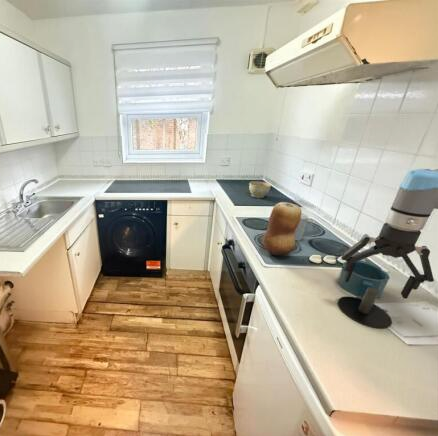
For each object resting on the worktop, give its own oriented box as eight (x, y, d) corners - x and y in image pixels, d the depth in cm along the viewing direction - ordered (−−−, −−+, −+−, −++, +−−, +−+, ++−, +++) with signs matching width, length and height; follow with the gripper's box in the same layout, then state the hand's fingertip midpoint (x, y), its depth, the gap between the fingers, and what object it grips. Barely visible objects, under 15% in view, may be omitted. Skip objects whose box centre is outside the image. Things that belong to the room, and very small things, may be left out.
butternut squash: (294, 262, 106) (309, 210, 96) (262, 258, 110) (273, 207, 100) (286, 247, 119) (299, 200, 109) (258, 244, 122) (267, 198, 112)
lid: (386, 309, 80) (397, 286, 76) (395, 337, 70) (409, 312, 66) (336, 294, 87) (344, 272, 84) (337, 317, 77) (347, 293, 73)
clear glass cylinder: (292, 241, 125) (298, 219, 120) (278, 233, 133) (283, 213, 129) (306, 238, 127) (313, 217, 123) (292, 231, 136) (297, 211, 131)
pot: (375, 282, 94) (384, 264, 90) (384, 310, 80) (394, 290, 77) (336, 271, 100) (342, 254, 97) (338, 295, 86) (345, 276, 83)
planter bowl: (270, 200, 187) (273, 186, 183) (248, 198, 190) (251, 185, 186) (266, 194, 201) (268, 181, 197) (246, 193, 205) (248, 180, 200)
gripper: (347, 220, 70) (325, 279, 78) (478, 244, 57) (435, 311, 65) (345, 212, 76) (325, 268, 84) (464, 232, 63) (426, 296, 71)
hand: (373, 287), depth 75 cm, fingers open, 13 cm apart
